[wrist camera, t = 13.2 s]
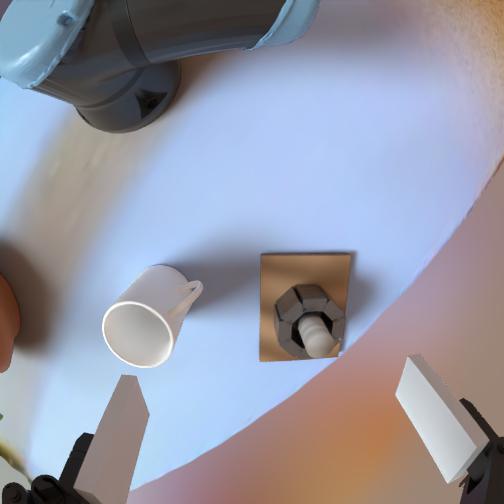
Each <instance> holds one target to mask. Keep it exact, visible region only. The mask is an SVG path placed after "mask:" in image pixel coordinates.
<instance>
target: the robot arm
mask: <svg viewBox="0 0 504 504" xmlns="http://www.w3.org/2000/svg"><path fill="white" fill-rule="evenodd" d="M320 1H321V0H13V2H12V3H11V5H10V6H9V7H8V9H7V11H6V12H5V14H4V16H3V18H2V20H1V22H0V75H1V76H2V77H3V78H5V79H7V80H9V81H11V82H13V83H15V84H17V85H18V87H20V88H22V89H31V90H34V91H37V92H40V93H43V94H46V95H48V96H51V97H54V98H57V99H59V100H62V101H65V102H67V103H70V104H73V105H74V107H76V109H77V111H78V113H79V115H80V116H81V117H82V119H83V120H84V121H85V122H86V123H88V124H89V125H90V126H92V127H94V128H96V129H99V130H102V131H105V132H109V133H127V132H131V131H135V130H137V129H140V128H142V127H144V126H146V125H148V124H149V123H151V122H152V121H154V120H155V119H156V118H157V117H159V116H160V115H161V114H162V113H163V112H164V111H165V110H166V108H167V107H168V106H169V104H170V103H171V102H172V100H173V98H174V96H175V94H176V92H177V90H178V87H179V83H180V79H181V65H180V61H179V59H181V58H185V57H190V56H196V55H201V54H207V53H213V52H220V51H227V50H234V49H243V50H254V49H256V48H259V47H263V46H272V45H283V44H288V43H291V42H293V41H294V40H296V39H297V38H300V37H301V36H302V35H303V34H304V33H305V32H306V31H307V30H308V28H309V27H310V25H311V24H312V22H313V20H314V18H315V16H316V13H317V11H318V8H319V5H320ZM396 397H397V399H398V400H399V402H400V403H401V405H402V407H403V408H404V410H405V412H406V413H407V415H408V416H409V418H410V420H411V422H412V423H413V425H414V426H415V428H416V430H417V432H418V433H419V435H420V437H421V438H422V440H423V442H424V443H425V445H426V447H427V448H428V450H429V452H430V454H431V455H432V457H433V459H434V461H435V462H436V464H437V466H438V468H439V469H440V471H441V473H442V475H443V476H444V478H445V480H446V482H447V483H450V482H452V481H454V480H456V479H457V478H459V477H461V476H462V475H463V473H464V472H465V471H466V470H467V471H468V473H469V474H468V475H467V476H466V477H465V478H464V479H463V481H462V482H461V483H460V485H459V487H461V486H462V485H463V484H464V483H465V485H464V489H463V493H462V497H461V501H460V504H504V437H498V435H497V434H496V433H495V432H494V431H493V429H492V428H491V427H490V425H489V424H488V423H487V422H486V420H485V419H484V418H483V417H482V415H481V414H480V413H479V412H477V409H476V408H475V407H474V406H473V404H472V403H470V402H469V401H467V400H466V399H464V398H463V399H461V400H458V399H457V397H456V396H455V395H454V394H453V393H452V391H451V390H450V389H449V388H448V386H447V385H446V384H445V383H444V382H443V380H442V379H441V378H440V377H439V375H438V374H437V373H436V372H435V371H434V370H433V368H432V367H431V366H430V365H429V364H428V363H427V362H426V360H425V359H424V358H423V357H422V356H421V354H415V355H411V356H408V357H407V361H406V364H405V367H404V371H403V373H402V377H401V380H400V383H399V386H398V389H397V391H396ZM149 415H150V414H149V412H148V409H147V406H146V403H145V400H144V397H143V395H142V392H141V389H140V386H139V383H138V379H137V376H131V375H121V377H120V380H119V382H118V384H117V386H116V388H115V390H114V392H113V394H112V397H111V399H110V401H109V403H108V405H107V408H106V410H105V412H104V414H103V417H102V419H101V421H100V423H99V426H98V428H97V430H96V433H95V435H94V434H89V433H85V432H84V433H83V434H82V435H81V436H80V437H79V438H78V439H77V440H76V442H75V444H74V446H73V450H72V451H71V453H70V455H69V458H68V460H67V462H66V464H65V467H64V469H63V471H62V474H61V476H60V478H59V481H58V480H57V479H56V478H54V477H53V476H50V475H40V476H38V477H36V478H35V479H34V480H33V482H32V485H31V490H26V489H25V488H24V487H23V486H22V485H20V484H18V483H15V482H13V483H9V484H7V485H5V487H4V488H3V491H2V504H126V501H127V497H128V493H129V489H130V485H131V481H132V477H133V473H134V469H135V466H136V462H137V458H138V454H139V451H140V447H141V443H142V440H143V436H144V433H145V429H146V426H147V422H148V419H149Z"/></svg>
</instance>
